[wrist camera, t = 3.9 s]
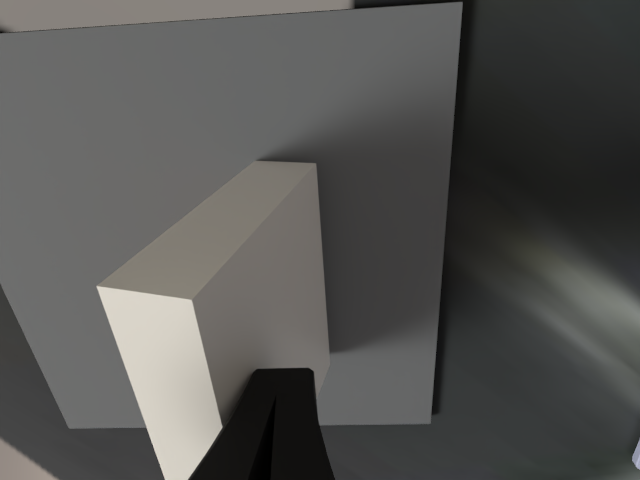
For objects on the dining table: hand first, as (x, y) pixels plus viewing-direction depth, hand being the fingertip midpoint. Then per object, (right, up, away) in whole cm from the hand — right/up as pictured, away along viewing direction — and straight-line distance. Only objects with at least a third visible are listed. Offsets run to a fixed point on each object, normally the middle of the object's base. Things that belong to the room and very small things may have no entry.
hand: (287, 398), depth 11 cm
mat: (-3, +3, +6) cm, 7 cm away
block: (0, +3, +5) cm, 6 cm away
